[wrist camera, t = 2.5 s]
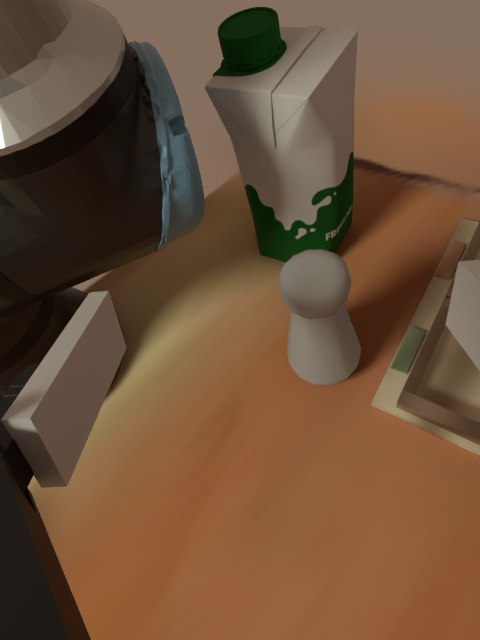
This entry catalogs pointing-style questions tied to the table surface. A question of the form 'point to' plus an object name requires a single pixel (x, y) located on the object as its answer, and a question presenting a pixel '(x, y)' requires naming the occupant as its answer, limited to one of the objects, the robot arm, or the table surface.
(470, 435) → the socket board
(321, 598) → the table surface
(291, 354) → the salt shaker
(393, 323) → the table surface
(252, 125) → the milk carton
